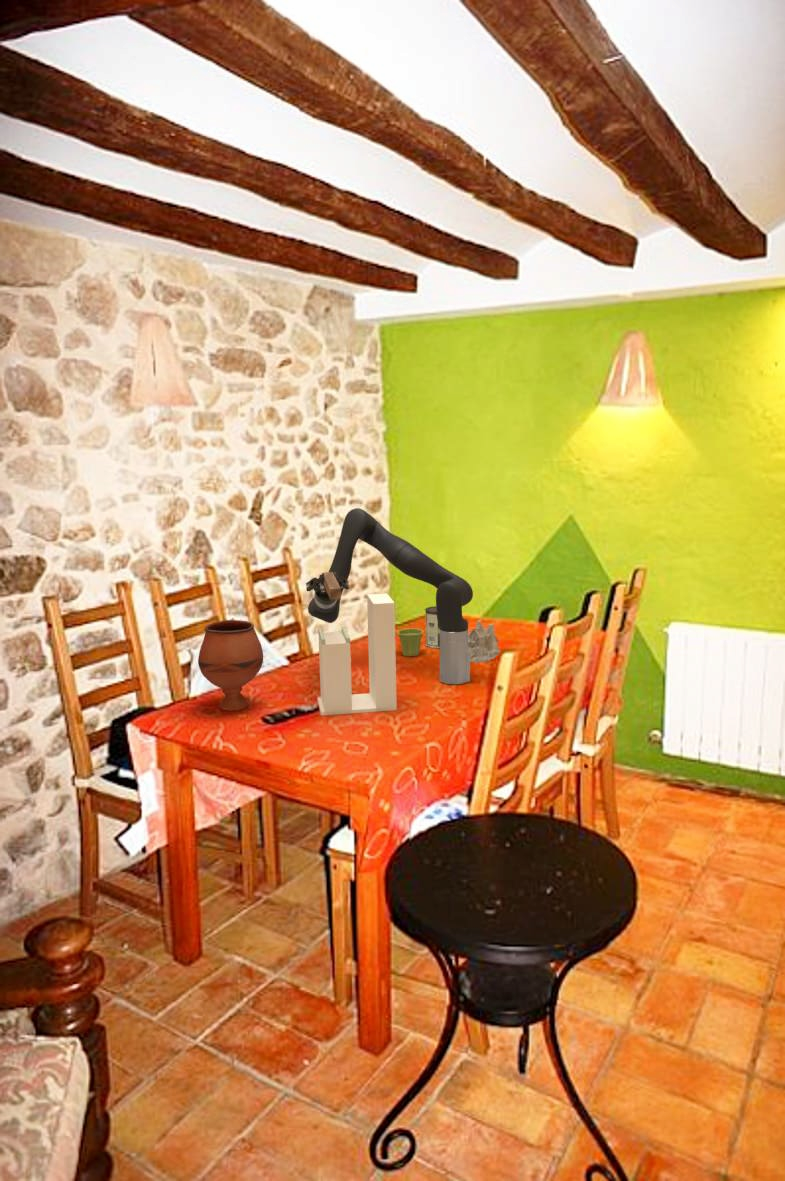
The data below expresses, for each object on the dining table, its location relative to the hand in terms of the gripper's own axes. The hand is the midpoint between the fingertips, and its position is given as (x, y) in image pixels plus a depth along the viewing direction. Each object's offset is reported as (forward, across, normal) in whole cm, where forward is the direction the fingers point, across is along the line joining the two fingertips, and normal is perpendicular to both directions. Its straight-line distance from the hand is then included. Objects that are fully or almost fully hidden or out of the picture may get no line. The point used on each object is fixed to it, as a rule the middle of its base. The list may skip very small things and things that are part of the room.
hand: (329, 575), depth 239 cm
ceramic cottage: (-49, +54, +16) cm, 75 cm away
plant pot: (-56, +32, +12) cm, 66 cm away
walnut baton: (+5, 0, +6) cm, 8 cm away
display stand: (-11, +6, +37) cm, 39 cm away
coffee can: (-65, +45, +7) cm, 80 cm away
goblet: (-17, -30, +34) cm, 49 cm away
